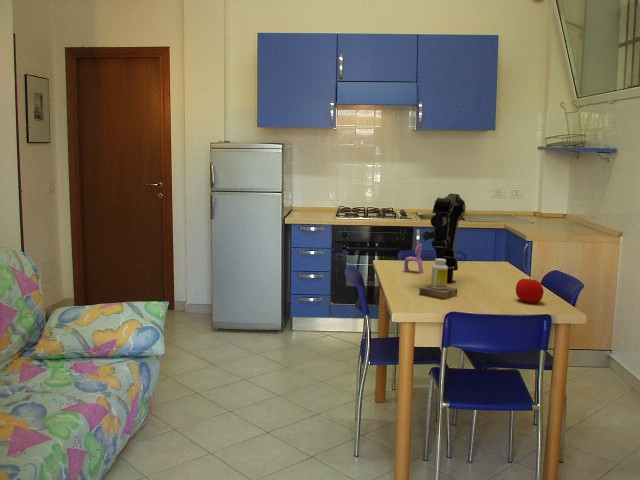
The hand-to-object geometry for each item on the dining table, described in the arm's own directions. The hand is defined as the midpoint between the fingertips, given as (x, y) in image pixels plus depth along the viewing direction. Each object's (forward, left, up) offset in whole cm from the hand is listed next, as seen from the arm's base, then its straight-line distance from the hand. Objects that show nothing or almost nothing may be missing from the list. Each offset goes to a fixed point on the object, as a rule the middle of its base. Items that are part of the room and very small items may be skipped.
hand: (439, 259), depth 325 cm
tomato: (-6, +41, -13) cm, 43 cm away
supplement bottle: (+14, +8, -10) cm, 19 cm away
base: (+14, +8, -13) cm, 21 cm away
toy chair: (-24, -27, -13) cm, 38 cm away
